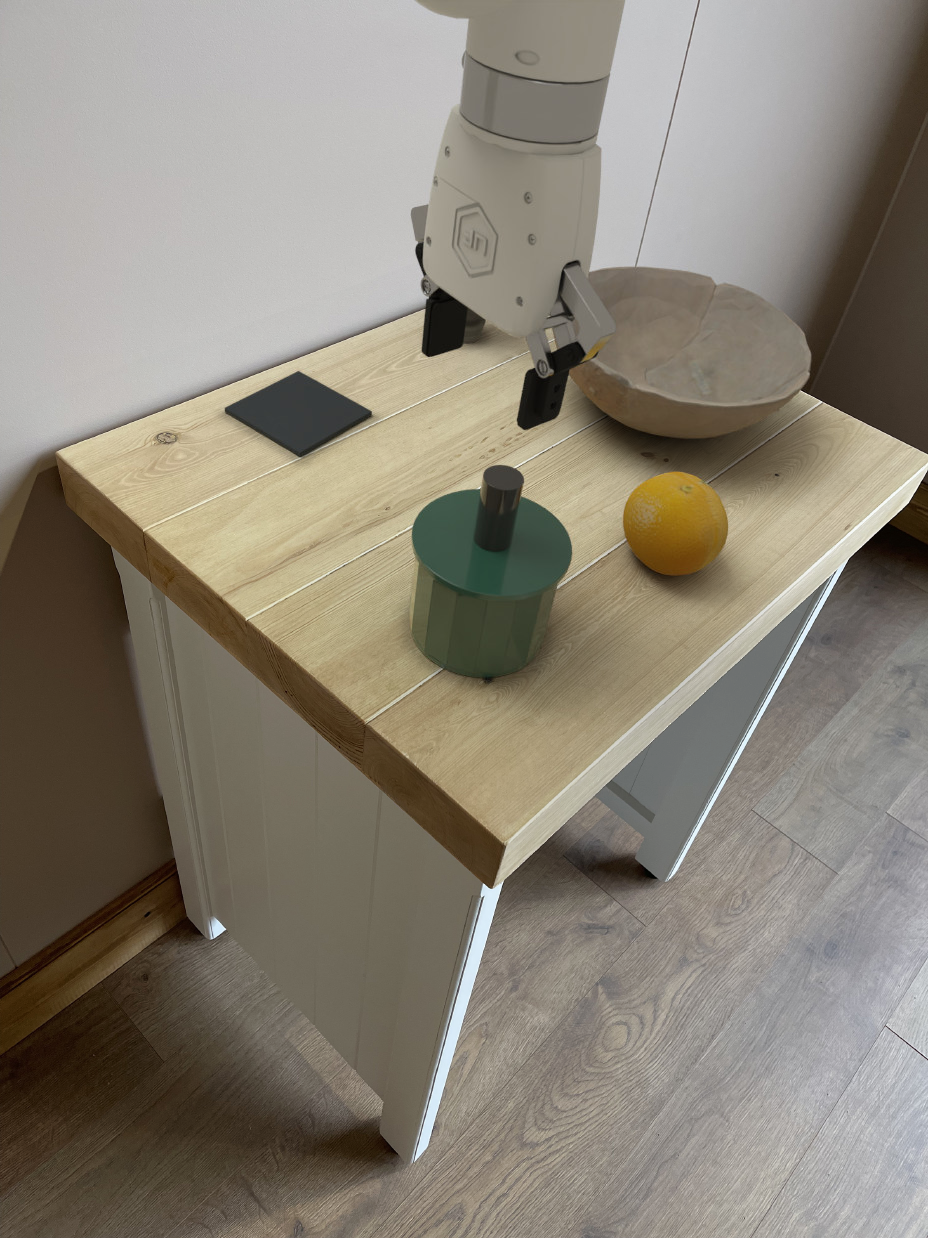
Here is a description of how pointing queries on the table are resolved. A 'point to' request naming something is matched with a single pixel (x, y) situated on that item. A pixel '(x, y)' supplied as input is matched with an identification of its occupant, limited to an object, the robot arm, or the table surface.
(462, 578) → the lid
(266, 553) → the table surface
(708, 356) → the bowl
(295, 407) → the mat
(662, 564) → the fruit
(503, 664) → the pot
